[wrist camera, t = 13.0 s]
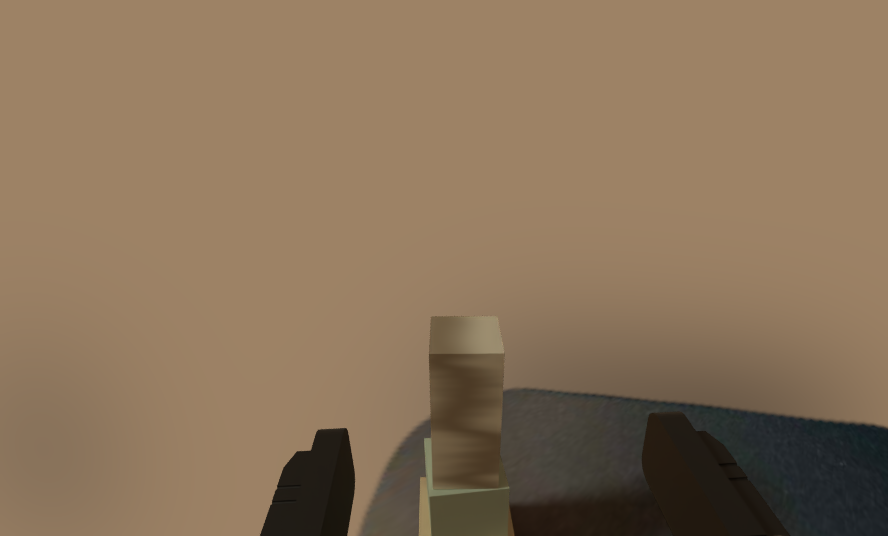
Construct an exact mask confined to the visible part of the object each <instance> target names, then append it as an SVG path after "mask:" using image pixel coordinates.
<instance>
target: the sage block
mask: <svg viewBox="0 0 888 536" xmlns="http://www.w3.org/2000/svg"><path fill="white" fill-rule="evenodd" d="M424 444H425V462H426V480H427V494H428V505H429V517H430V529H431V536H508V512H509V485H508V482H507V478H506V474H505V471H504V467H503V464H502V460H501V456H500V463H499V484H498V489H433V483H432V446H431V438H425V439H424Z"/></svg>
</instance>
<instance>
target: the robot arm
mask: <svg viewBox="0 0 888 536" xmlns="http://www.w3.org/2000/svg"><path fill="white" fill-rule="evenodd" d="M642 467H643V472H644V475H645V478H646V481H647V483H648V485H649V487H650V489H651V491H652V493H653V495H654V497H655V499H656V501H657V503H658V505H659V507H660V509H661V511H662V513H663V515H664V517H665V519H666V521H667V523H668V525H669V527H670V529H671V531H672V533H673V535H674V536H790V535H789V533H788V532H787V531H786V529H785V528H784V527H783V525H782V524H781V523H780V521H779V520H778V518H777V517H776V516H775V514H774V513H773V512H772V510H771V509H770V507H769V506H768V505H767V503H766V502H765V501H764V499H763V498H762V497H761V495H760V494H759V492H758V491H757V490H756V488H755V487H754V486H753V484H752V483H751V482H750V481H748V479H747V476H746V475H745V473H744V472H743V471H742V469H741V468H740V467H739V466H737V462H736V461H735V460H734V458H733V457H732V456H731V454H730V453H729V451H728V450H727V449H726V447H725V446H724V445H723V444H722V443H720V442H719V441H718V440H716V439H715V438H714V437H712V436H711V435H710V434H709V433H707V432H706V431H695V429H694V428H693V426H692V425H691V423H690V422H689V420H688V419H687V418H686V416H685V415H684V414H683V413H682V412H662V413H651V414H650V415H649V417H648V422H647V428H646V434H645V440H644V446H643V452H642ZM354 490H355V472H354V465H353V459H352V453H351V447H350V441H349V435H348V430H347V429H346V428H340V429H321V430H318V431H317V432H316V435H315V439H314V442H313V445H312V449H311V451H297V452H296V453H295V455H294V456H293V457H292V458H291V459H290V461H289V462H288V463H287V464H286V465H285V467H284V468H283V471H282V474H281V477H280V479H279V482H278V485H277V490H276V491H275V494H274V497H273V500H272V505H270V508H269V512H268V514H267V517H266V520H265V523H264V526H263V529H262V531H261V534H260V536H347V533H348V527H349V522H350V515H351V509H352V504H353V498H354Z"/></svg>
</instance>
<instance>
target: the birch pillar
mask: <svg viewBox="0 0 888 536" xmlns="http://www.w3.org/2000/svg"><path fill="white" fill-rule="evenodd" d="M430 328H431V329H430V345H429V370H430V371H429V372H430V405H431V406H430V407H431V446H432V483H433V489H498V484H499V463H500V441H501V420H502V399H503V377H504V376H503V375H504V356H505V353H504V348H503V343H502V338H501V333H500V327H499V323H498V318H497V316H461V317H460V316H459V317H458V316H454V317H453V316H450V317H431V327H430Z"/></svg>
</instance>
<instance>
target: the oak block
mask: <svg viewBox="0 0 888 536" xmlns="http://www.w3.org/2000/svg"><path fill="white" fill-rule="evenodd" d="M419 536H431V529H430V517H429V505H428V494H427V480H426V477H420V512H419ZM508 536H514V530H513V524H512V519H511V513H510V507H509V512H508Z"/></svg>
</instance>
